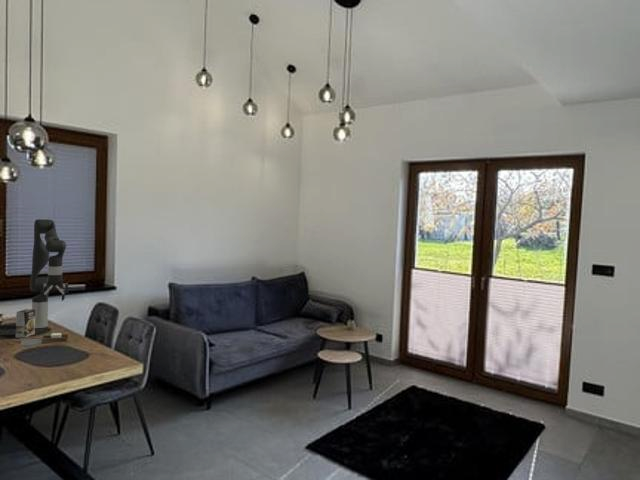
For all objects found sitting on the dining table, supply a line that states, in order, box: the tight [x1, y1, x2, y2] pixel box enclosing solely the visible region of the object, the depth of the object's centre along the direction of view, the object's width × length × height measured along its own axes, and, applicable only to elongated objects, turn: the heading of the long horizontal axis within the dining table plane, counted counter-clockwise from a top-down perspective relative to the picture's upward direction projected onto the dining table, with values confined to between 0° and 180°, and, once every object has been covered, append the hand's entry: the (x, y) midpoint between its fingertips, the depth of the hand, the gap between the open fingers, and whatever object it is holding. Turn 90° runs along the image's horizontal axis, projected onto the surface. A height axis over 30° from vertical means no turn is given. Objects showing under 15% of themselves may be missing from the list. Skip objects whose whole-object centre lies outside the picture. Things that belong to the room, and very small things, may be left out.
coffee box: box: [15, 308, 36, 339], centre depth 282 cm, size 9×6×16 cm
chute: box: [41, 333, 69, 345], centre depth 274 cm, size 12×13×3 cm
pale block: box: [50, 332, 62, 338], centre depth 275 cm, size 5×5×4 cm
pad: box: [19, 338, 43, 346], centre depth 269 cm, size 12×11×1 cm
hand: (54, 300), depth 271 cm, fingers open, 8 cm apart
